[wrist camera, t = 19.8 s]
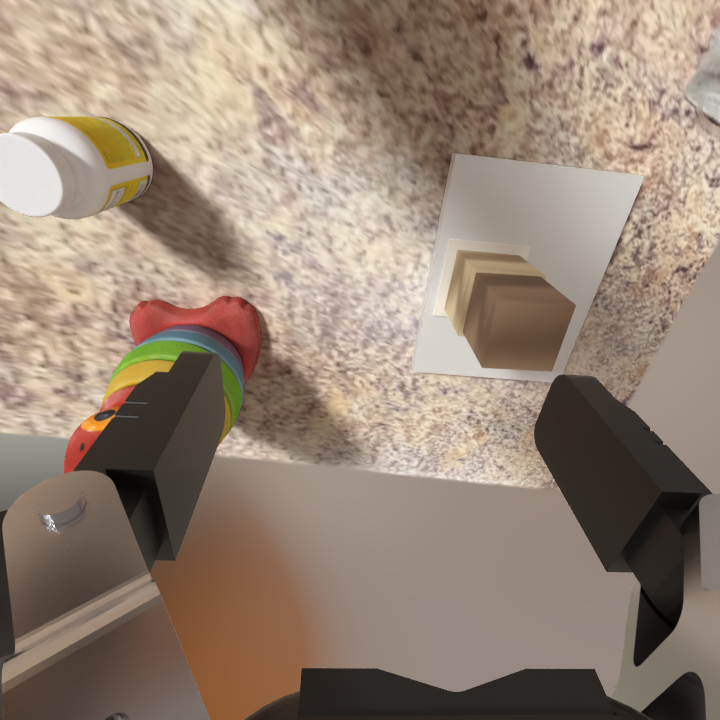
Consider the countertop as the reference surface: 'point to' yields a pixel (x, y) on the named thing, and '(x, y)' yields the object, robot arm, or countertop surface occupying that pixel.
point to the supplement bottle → (71, 166)
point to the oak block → (465, 275)
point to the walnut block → (516, 322)
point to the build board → (521, 245)
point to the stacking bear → (162, 348)
